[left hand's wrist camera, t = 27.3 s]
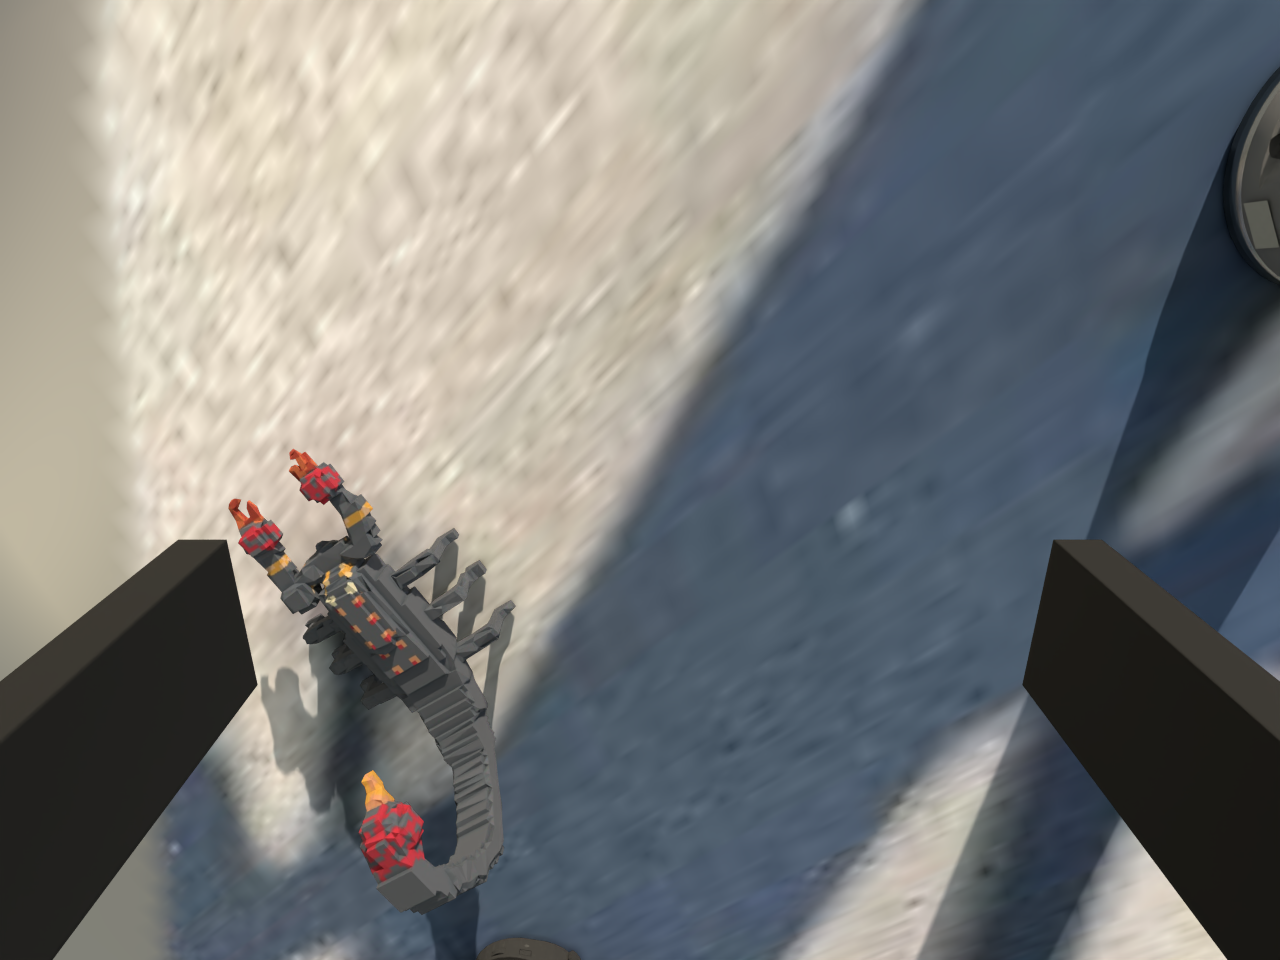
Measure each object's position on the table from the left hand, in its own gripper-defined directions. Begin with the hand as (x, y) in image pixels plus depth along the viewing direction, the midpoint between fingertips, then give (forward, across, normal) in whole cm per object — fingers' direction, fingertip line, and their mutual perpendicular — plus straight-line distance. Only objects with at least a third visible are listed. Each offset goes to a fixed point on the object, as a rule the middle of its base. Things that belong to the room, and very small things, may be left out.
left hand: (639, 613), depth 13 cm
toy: (+38, -17, -21) cm, 47 cm away
